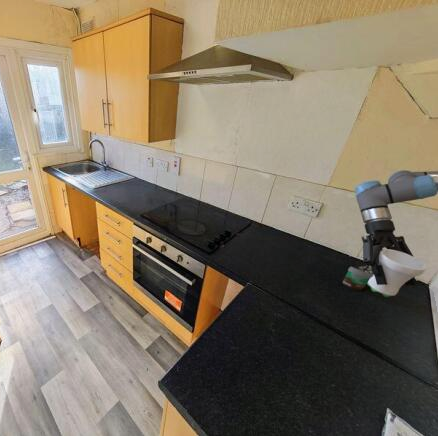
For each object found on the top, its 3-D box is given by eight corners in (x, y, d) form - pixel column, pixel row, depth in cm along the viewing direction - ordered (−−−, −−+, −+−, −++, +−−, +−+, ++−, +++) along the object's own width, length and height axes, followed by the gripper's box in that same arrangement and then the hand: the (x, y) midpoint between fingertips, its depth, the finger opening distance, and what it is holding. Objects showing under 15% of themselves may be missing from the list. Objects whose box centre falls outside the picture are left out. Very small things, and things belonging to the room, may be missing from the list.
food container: (353, 294, 96) (365, 276, 92) (339, 283, 101) (349, 266, 97) (373, 289, 99) (386, 271, 95) (359, 279, 105) (370, 262, 100)
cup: (389, 283, 85) (411, 253, 78) (409, 305, 75) (437, 273, 69) (354, 276, 88) (373, 246, 81) (369, 296, 78) (392, 264, 72)
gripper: (394, 225, 87) (414, 285, 81) (339, 223, 86) (355, 284, 79) (418, 219, 80) (441, 285, 73) (358, 218, 79) (377, 284, 72)
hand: (396, 284), depth 76 cm, fingers closed on cup, 10 cm apart
